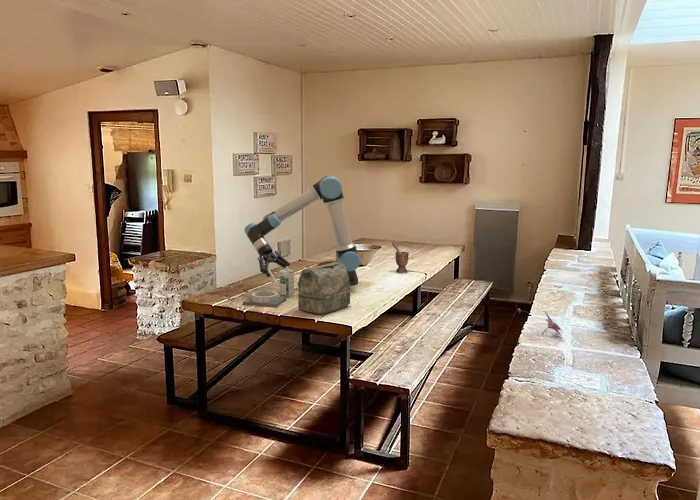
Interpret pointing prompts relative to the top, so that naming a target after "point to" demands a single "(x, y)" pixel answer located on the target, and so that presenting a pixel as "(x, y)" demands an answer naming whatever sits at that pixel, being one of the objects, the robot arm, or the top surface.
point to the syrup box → (286, 283)
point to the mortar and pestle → (401, 259)
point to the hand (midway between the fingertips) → (283, 279)
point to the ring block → (265, 299)
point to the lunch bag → (324, 288)
